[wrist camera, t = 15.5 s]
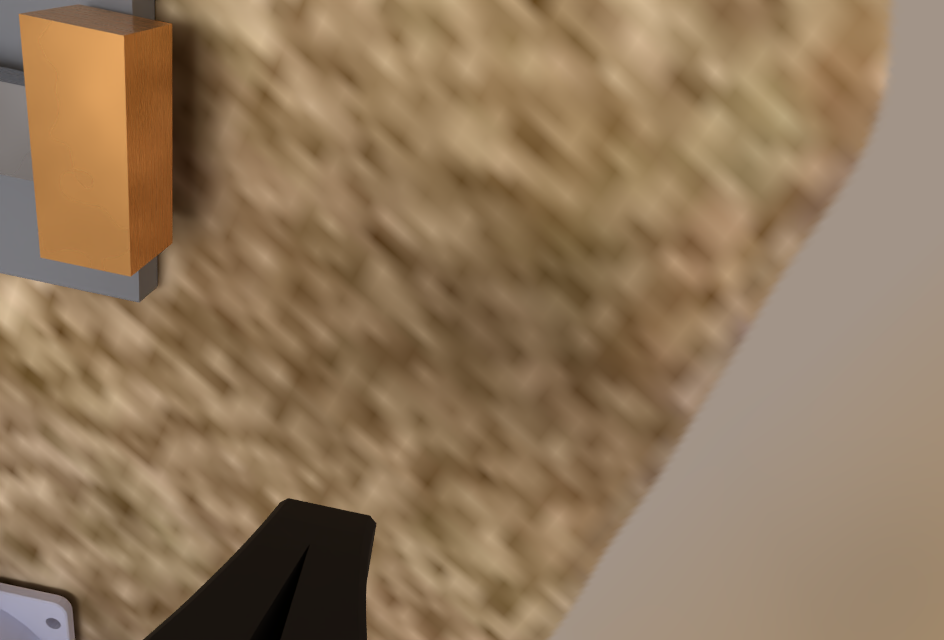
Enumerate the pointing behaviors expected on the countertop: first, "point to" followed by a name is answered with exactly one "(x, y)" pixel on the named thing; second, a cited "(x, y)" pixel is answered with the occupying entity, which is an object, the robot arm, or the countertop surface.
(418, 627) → the countertop surface
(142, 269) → the vise base
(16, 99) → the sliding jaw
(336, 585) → the robot arm
